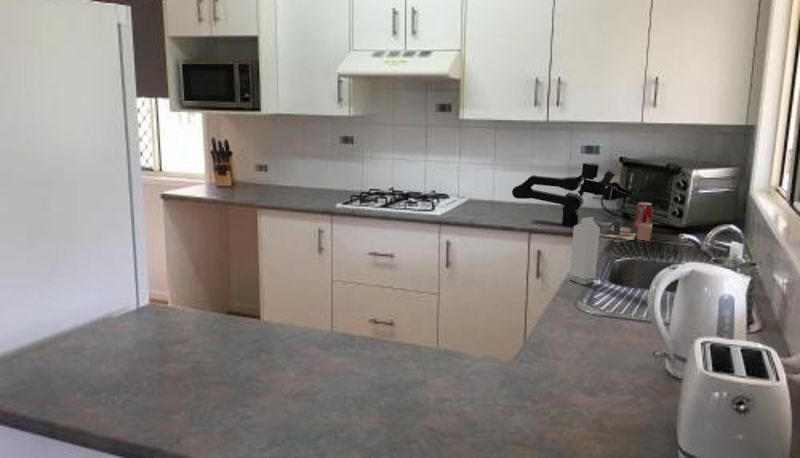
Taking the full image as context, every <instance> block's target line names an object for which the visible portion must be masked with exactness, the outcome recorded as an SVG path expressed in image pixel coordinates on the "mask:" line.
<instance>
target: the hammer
mask: <svg viewBox="0 0 800 458" xmlns="http://www.w3.org/2000/svg"><path fill="white" fill-rule="evenodd" d="M622 222H623V221H622V219H618V218H616V219H615V220H614V225H612V226H611V232H614V234H620V233H628V234H631V233H632V228H631V227H623V226H622Z"/></svg>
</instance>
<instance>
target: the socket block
mask: <svg viewBox="0 0 800 458" xmlns="http://www.w3.org/2000/svg"><path fill="white" fill-rule="evenodd" d="M652 231H653V223H652V222H651V223H641V222H640V223H639V225H638V230H637V236H636V240H637V239H640V240H646V241H649V242H650V241H651V238H652ZM646 241H645V242H646Z"/></svg>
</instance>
